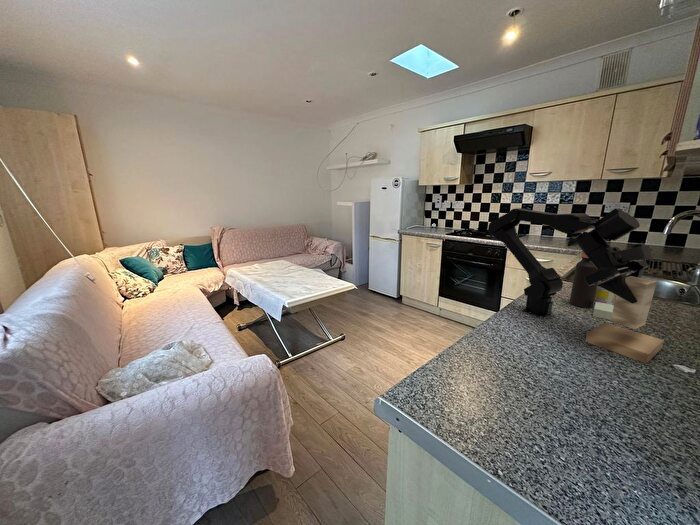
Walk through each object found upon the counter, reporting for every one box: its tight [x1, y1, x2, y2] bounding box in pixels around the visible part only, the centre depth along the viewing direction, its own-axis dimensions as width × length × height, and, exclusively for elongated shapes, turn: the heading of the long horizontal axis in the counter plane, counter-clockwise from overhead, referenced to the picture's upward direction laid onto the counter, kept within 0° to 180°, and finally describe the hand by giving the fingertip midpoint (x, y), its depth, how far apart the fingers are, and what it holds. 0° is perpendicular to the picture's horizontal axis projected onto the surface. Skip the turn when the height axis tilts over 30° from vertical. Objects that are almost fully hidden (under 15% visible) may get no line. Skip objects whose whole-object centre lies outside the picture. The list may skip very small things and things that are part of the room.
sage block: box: [592, 302, 614, 321], centre depth 91 cm, size 8×8×3 cm
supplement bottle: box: [594, 281, 616, 305], centre depth 100 cm, size 7×7×13 cm
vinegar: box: [569, 250, 598, 309], centre depth 98 cm, size 7×7×20 cm
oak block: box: [584, 322, 665, 364], centre depth 74 cm, size 12×12×3 cm
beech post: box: [609, 276, 658, 330], centre depth 71 cm, size 5×5×12 cm
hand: (640, 300), depth 70 cm, fingers closed on beech post, 5 cm apart
